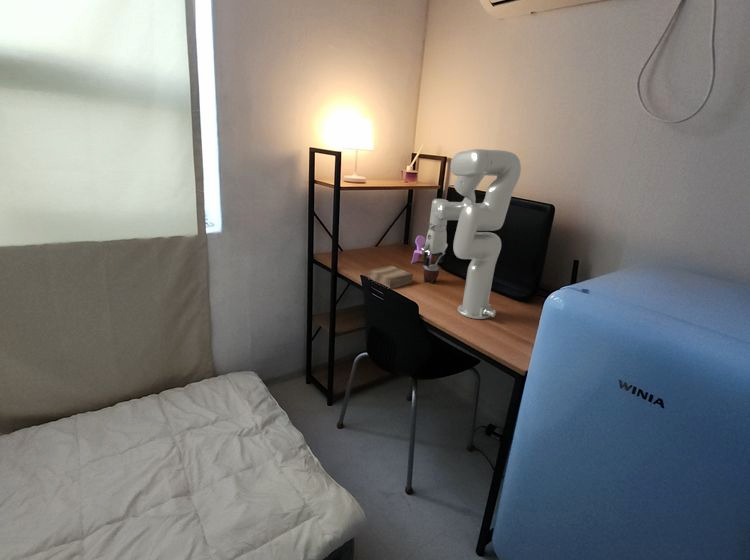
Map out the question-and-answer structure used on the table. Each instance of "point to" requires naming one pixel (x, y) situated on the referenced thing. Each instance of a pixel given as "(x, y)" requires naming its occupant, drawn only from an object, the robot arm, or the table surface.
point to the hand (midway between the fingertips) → (432, 263)
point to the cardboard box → (391, 276)
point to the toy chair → (419, 248)
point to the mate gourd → (431, 272)
